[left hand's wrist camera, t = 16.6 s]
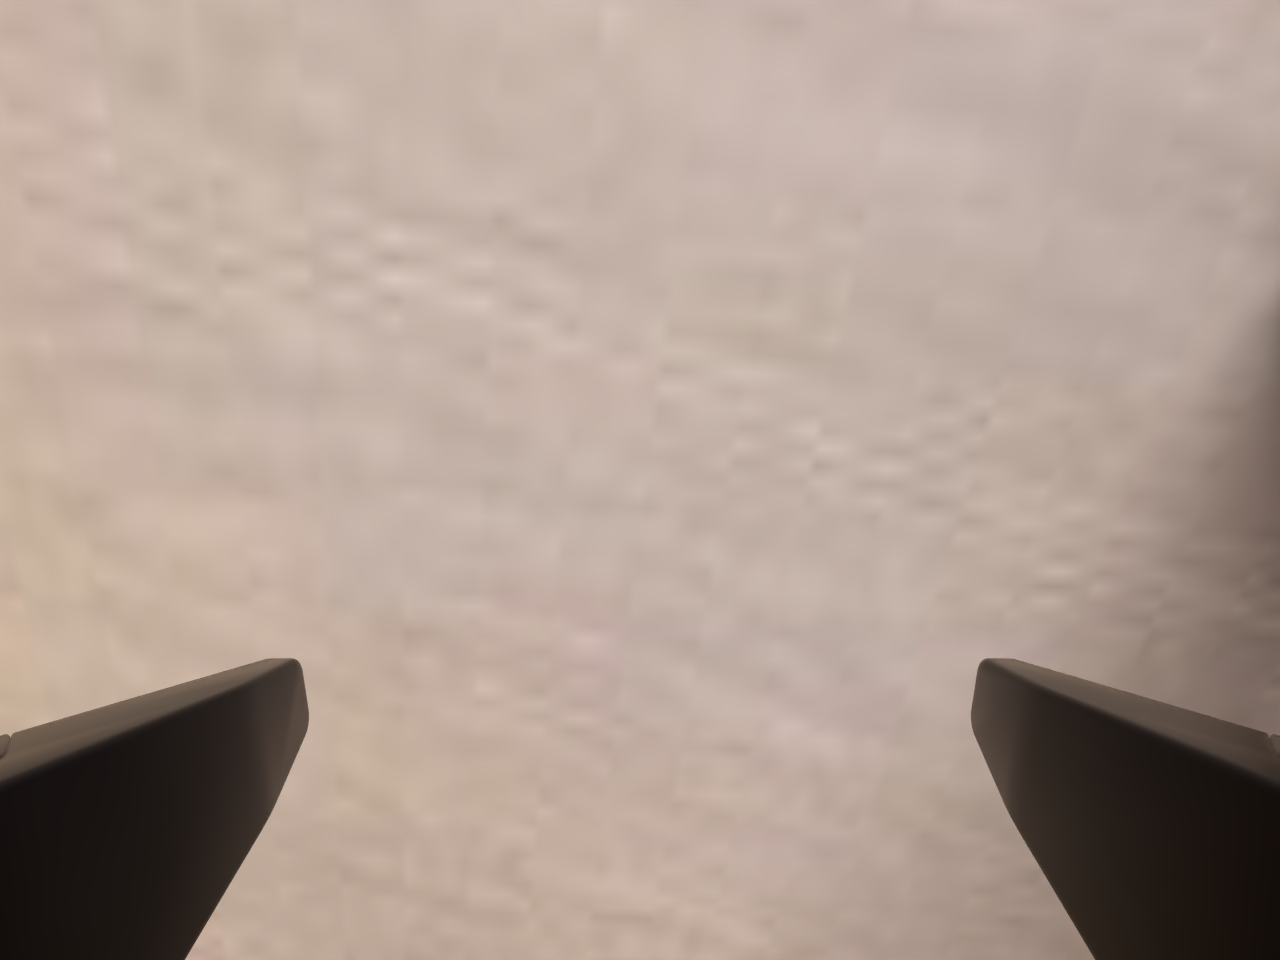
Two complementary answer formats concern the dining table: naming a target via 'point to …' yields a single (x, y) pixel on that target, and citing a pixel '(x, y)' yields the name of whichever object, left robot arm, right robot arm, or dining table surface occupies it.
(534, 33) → the dining table surface
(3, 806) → the left robot arm
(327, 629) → the dining table surface
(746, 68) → the dining table surface
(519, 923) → the dining table surface
